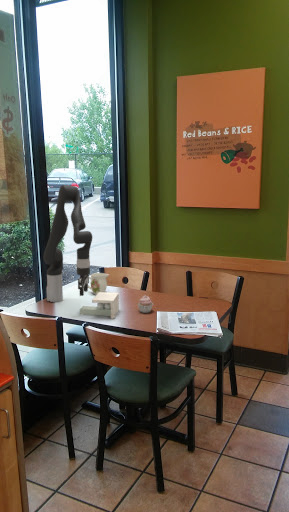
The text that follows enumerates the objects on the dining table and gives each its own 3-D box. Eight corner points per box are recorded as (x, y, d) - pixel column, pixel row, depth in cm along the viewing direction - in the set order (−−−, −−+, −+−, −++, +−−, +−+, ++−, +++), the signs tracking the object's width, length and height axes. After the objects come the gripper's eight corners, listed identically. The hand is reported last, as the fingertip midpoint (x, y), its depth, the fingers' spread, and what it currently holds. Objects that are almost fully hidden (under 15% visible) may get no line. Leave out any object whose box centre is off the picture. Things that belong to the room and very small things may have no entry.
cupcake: (142, 315, 236) (142, 298, 235) (134, 310, 244) (134, 294, 243) (156, 312, 241) (156, 296, 239) (148, 308, 249) (148, 292, 247)
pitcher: (90, 290, 289) (89, 270, 286) (113, 292, 282) (112, 273, 279) (81, 294, 279) (81, 274, 276) (105, 297, 272) (105, 276, 269)
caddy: (80, 314, 238) (79, 304, 237) (82, 311, 244) (82, 301, 242) (110, 316, 235) (110, 305, 234) (112, 312, 241) (112, 302, 240)
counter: (92, 317, 232) (92, 299, 230) (99, 309, 247) (98, 292, 245) (113, 318, 230) (113, 300, 228) (118, 309, 246) (118, 292, 244)
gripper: (80, 263, 242) (81, 289, 245) (73, 268, 228) (73, 296, 231) (93, 263, 241) (93, 290, 244) (86, 269, 227) (86, 297, 230)
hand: (83, 293), depth 238 cm, fingers open, 8 cm apart
